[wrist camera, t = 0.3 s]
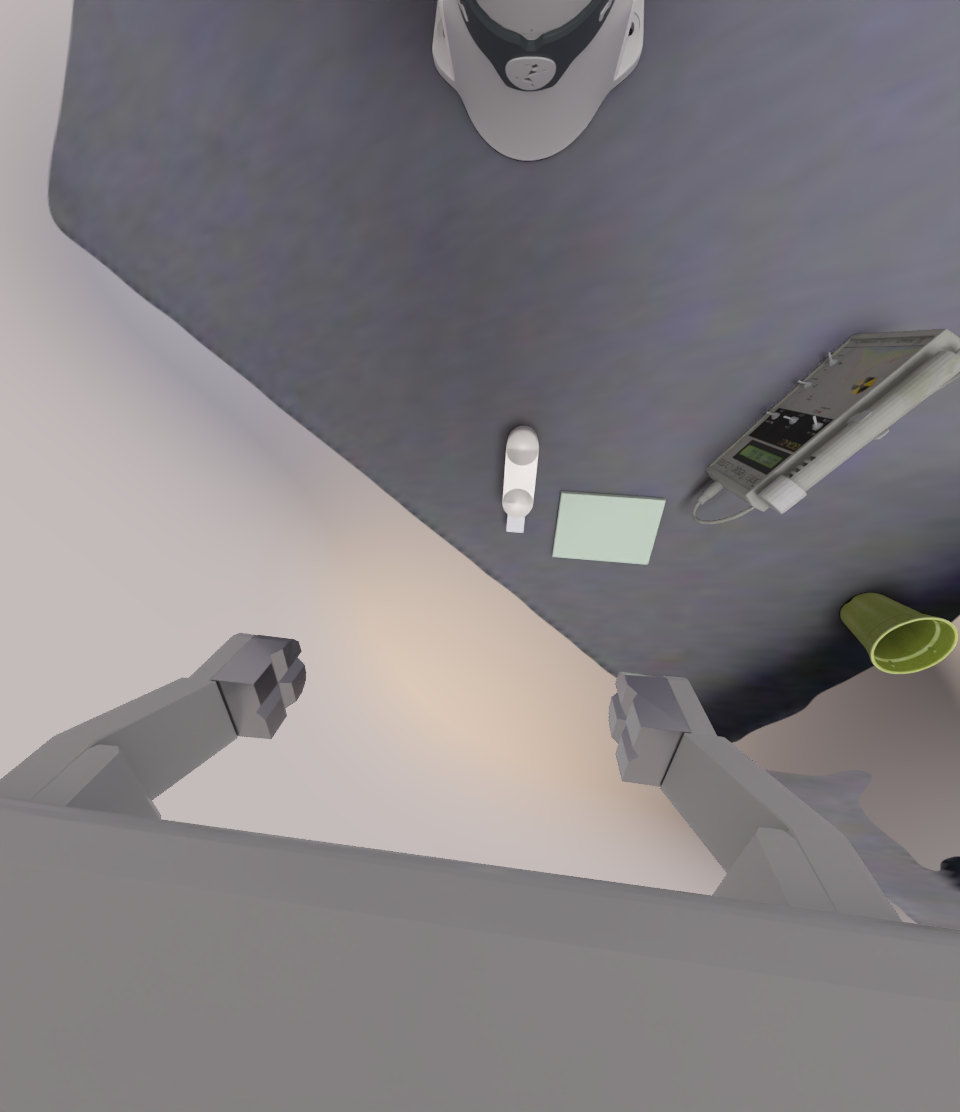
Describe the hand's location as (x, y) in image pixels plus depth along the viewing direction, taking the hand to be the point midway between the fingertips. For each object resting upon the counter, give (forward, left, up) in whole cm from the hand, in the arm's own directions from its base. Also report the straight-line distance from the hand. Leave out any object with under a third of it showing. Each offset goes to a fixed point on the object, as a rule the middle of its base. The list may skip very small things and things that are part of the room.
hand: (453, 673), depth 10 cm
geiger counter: (+1, +32, -46) cm, 56 cm away
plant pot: (+25, +55, -46) cm, 76 cm away
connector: (+8, +2, -46) cm, 47 cm away
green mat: (+15, +15, -46) cm, 50 cm away
